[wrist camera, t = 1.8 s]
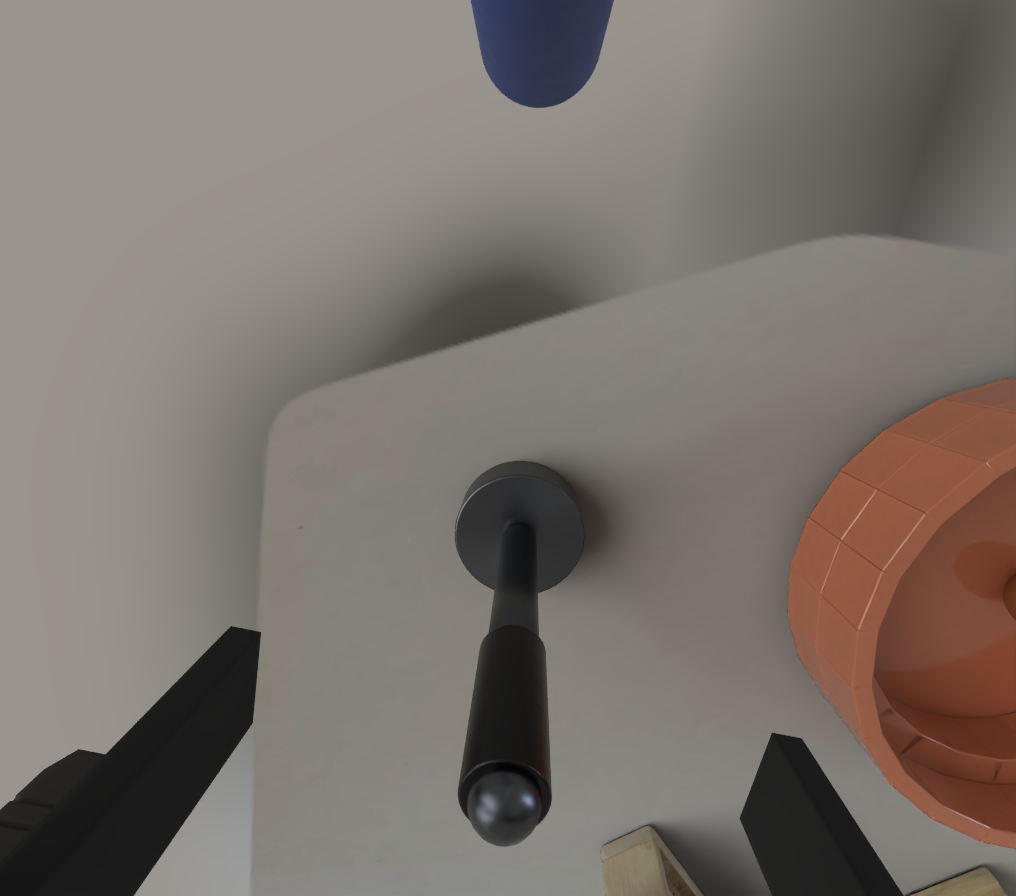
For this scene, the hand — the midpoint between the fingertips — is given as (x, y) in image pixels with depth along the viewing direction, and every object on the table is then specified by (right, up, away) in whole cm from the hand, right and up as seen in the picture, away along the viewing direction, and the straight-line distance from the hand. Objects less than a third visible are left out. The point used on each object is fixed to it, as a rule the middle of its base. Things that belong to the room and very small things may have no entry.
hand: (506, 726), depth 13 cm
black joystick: (+1, +4, +13) cm, 14 cm away
